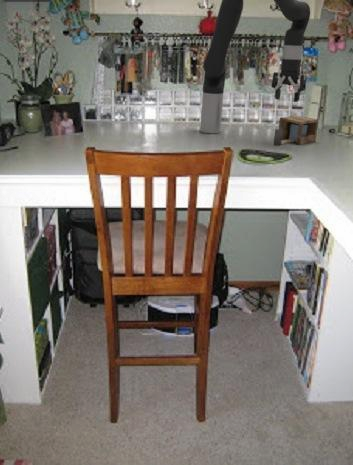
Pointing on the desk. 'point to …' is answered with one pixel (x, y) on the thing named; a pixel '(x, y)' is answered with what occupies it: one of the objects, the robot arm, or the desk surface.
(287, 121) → the shelf
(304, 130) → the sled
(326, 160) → the desk surface
